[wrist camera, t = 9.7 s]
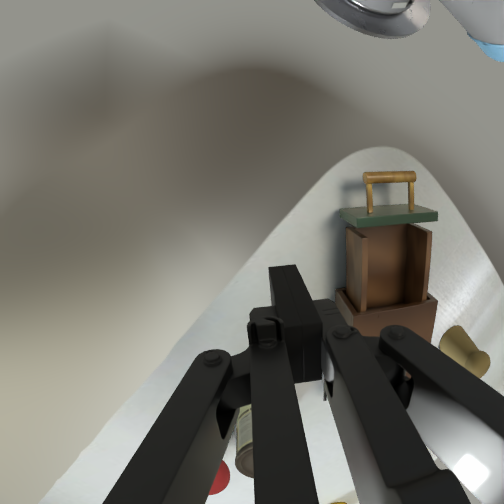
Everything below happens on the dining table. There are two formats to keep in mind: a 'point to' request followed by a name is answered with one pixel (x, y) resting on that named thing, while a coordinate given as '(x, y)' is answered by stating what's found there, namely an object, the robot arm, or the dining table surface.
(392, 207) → the drawer
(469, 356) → the brown peg doll
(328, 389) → the robot arm
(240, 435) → the coffee can
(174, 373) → the dining table surface
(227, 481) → the lollipop
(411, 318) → the cabinet
